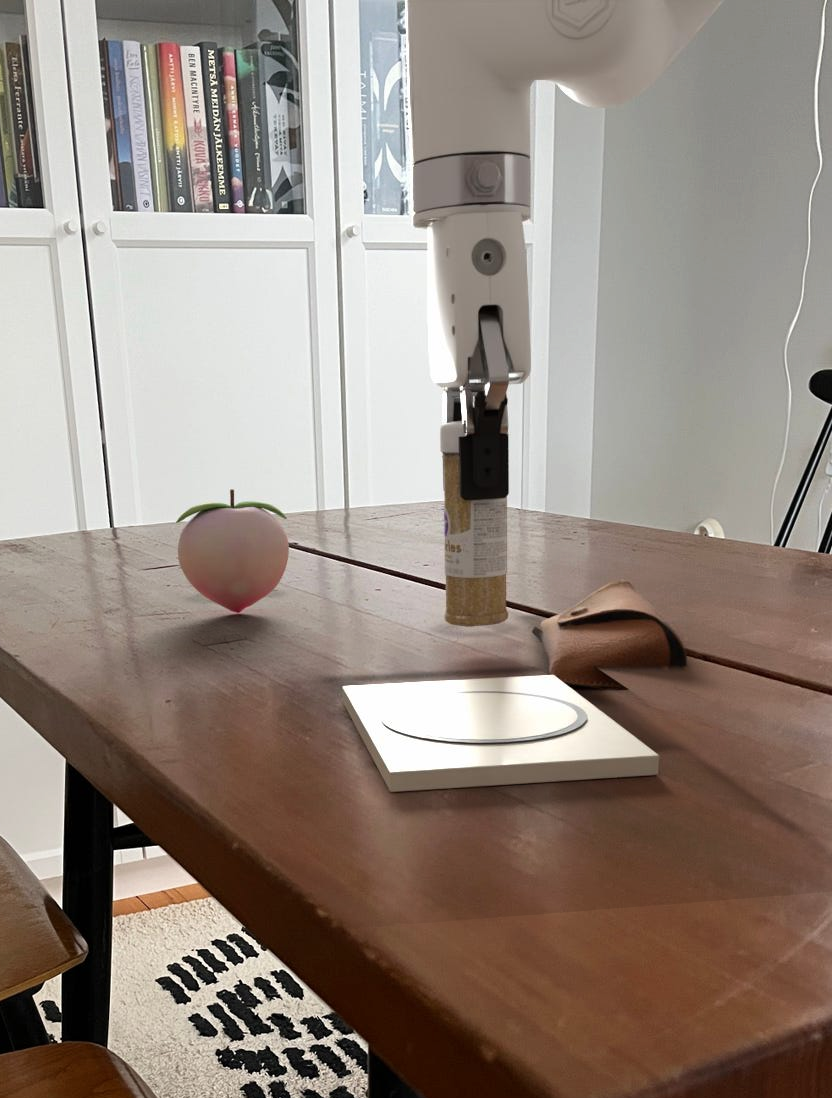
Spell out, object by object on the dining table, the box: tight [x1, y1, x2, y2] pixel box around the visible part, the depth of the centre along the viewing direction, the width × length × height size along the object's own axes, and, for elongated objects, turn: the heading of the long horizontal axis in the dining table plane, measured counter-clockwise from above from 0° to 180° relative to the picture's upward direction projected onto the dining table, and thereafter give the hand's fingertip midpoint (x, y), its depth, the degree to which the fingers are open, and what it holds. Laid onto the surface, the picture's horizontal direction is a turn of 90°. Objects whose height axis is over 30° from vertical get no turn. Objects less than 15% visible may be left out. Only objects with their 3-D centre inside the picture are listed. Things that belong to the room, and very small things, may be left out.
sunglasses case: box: [531, 579, 688, 690], centre depth 84 cm, size 18×7×7 cm
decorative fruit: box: [176, 488, 290, 614], centre depth 104 cm, size 9×8×10 cm
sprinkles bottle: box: [439, 421, 509, 628], centre depth 86 cm, size 5×5×14 cm
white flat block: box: [341, 674, 660, 793], centre depth 68 cm, size 13×18×1 cm
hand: (475, 493), depth 86 cm, fingers closed on sprinkles bottle, 4 cm apart
